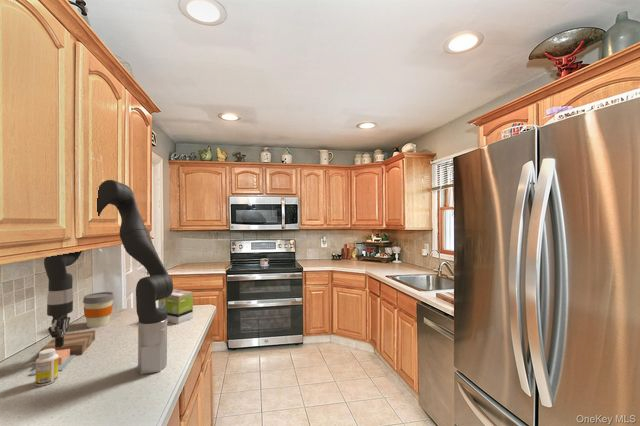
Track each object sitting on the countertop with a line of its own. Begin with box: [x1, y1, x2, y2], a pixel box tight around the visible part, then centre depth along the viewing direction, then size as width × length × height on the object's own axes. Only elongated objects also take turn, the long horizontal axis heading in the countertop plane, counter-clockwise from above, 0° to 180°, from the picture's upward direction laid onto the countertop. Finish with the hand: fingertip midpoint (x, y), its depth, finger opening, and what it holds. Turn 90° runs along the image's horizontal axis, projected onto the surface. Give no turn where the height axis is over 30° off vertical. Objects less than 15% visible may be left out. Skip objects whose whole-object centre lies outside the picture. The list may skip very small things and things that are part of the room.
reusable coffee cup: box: [82, 291, 115, 329], centre depth 152 cm, size 13×13×15 cm
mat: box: [28, 354, 77, 377], centre depth 110 cm, size 13×9×1 cm
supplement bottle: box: [34, 348, 59, 387], centre depth 99 cm, size 6×6×10 cm
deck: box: [39, 329, 96, 356], centre depth 123 cm, size 16×13×4 cm
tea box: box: [157, 288, 194, 325], centre depth 160 cm, size 15×10×15 cm
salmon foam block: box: [55, 349, 70, 365], centre depth 112 cm, size 8×6×2 cm
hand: (59, 346), depth 114 cm, fingers closed
